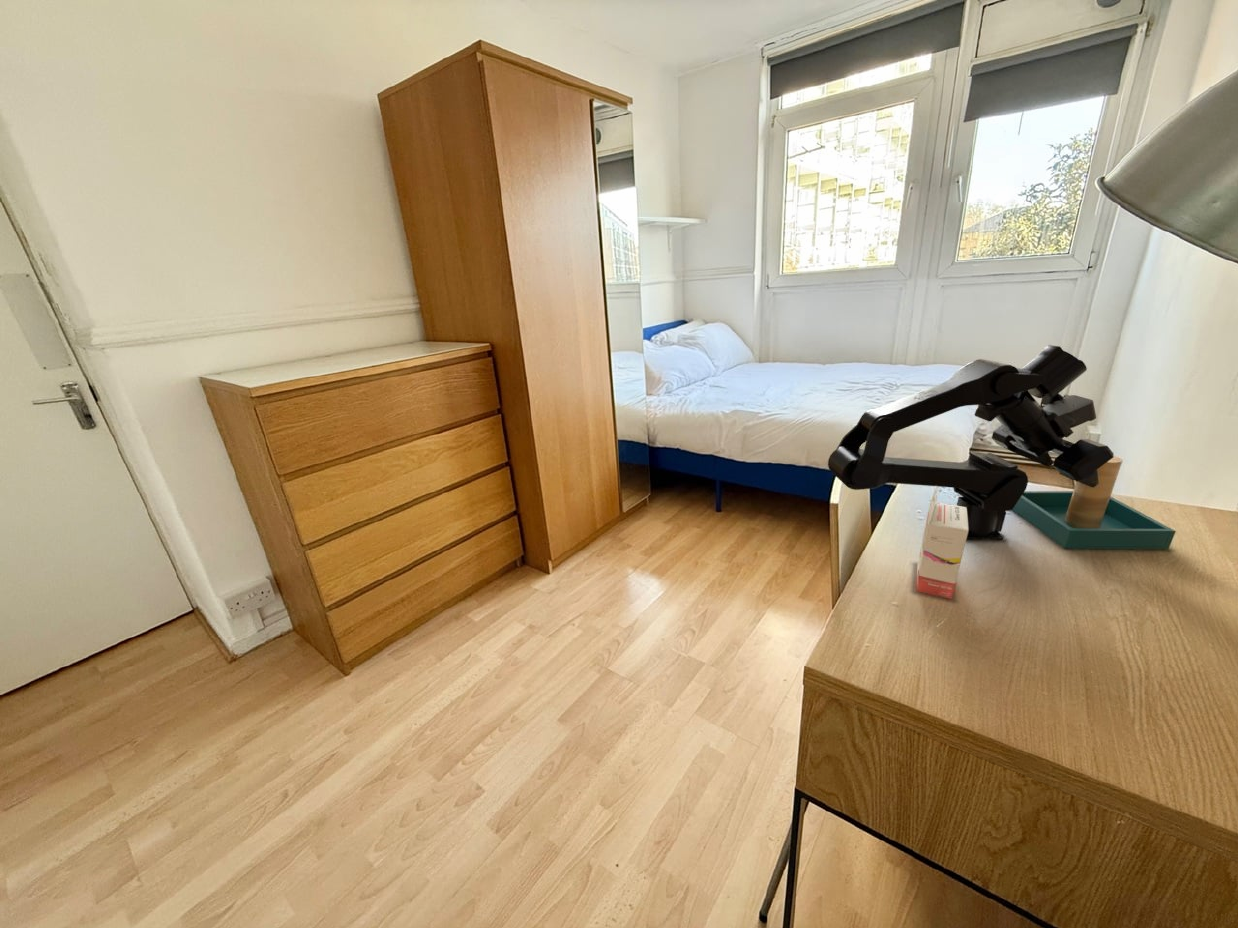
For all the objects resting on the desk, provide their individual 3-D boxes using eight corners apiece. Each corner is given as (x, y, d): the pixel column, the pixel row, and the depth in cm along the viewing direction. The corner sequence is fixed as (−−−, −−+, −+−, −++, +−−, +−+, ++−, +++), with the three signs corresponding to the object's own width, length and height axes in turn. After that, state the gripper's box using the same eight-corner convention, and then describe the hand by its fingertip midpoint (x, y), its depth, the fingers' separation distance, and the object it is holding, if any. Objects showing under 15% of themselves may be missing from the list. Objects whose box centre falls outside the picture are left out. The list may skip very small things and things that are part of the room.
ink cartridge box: (954, 600, 73) (974, 512, 67) (915, 591, 75) (932, 505, 70) (952, 571, 79) (971, 488, 74) (917, 563, 82) (932, 482, 76)
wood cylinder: (1103, 532, 86) (1127, 464, 82) (1068, 527, 88) (1089, 460, 84) (1094, 520, 90) (1116, 454, 86) (1060, 516, 92) (1080, 451, 88)
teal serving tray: (1064, 548, 83) (1070, 530, 82) (1008, 507, 98) (1012, 491, 96) (1168, 549, 81) (1176, 531, 80) (1095, 507, 96) (1100, 490, 94)
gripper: (1120, 395, 71) (1172, 462, 75) (1023, 371, 89) (1069, 426, 92) (1050, 449, 74) (1103, 510, 78) (970, 415, 92) (1016, 467, 95)
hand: (1071, 474), depth 86 cm, fingers open, 9 cm apart
